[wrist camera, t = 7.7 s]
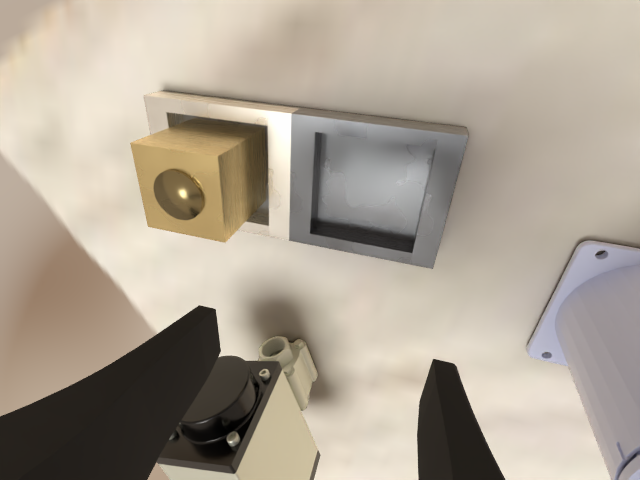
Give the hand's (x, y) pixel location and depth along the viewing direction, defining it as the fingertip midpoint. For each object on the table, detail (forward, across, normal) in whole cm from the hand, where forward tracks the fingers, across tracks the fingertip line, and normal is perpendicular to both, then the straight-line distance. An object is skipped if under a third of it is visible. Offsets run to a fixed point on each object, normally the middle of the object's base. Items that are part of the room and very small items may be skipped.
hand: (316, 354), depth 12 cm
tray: (+10, +4, -2) cm, 11 cm away
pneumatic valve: (+11, +4, +13) cm, 17 cm away
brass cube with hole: (+10, +8, -2) cm, 13 cm away
